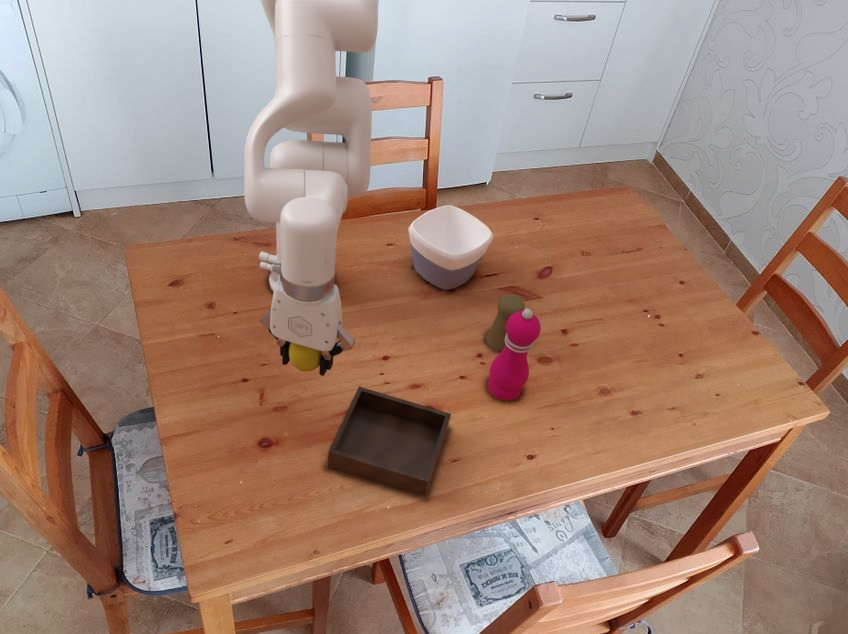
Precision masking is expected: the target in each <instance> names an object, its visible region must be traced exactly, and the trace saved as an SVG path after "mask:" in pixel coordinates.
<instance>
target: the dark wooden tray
mask: <svg viewBox="0 0 848 634" xmlns="http://www.w3.org/2000/svg"><path fill="white" fill-rule="evenodd" d="M451 417H452V414H451V413H449V412H446V411H443V410H440V409H436V408H433V407H430V406H427V405H423V404H420V403H416V402H414V401H413V402H412V401H410V400H405V399H403V398H400V397H396V396H392V395H389V394H385V393H382V392H379V391H376V390H372V389H369V388H366V387H362V386H358V387H357V389H356V392H355V394H354V396H353V398H352V400H351V402H350V404H349V406H348V408H347V411H346V412H345V415H344V417H343V419H342V421H341V424H340V425H339V428H338V430H337V432H336V434H335V436H334V438H333V441H332V443H331V445H330V447H329V449H328V453H327V454H328V455H327V468H330V469H333V470H335V471H339V472H343V473H346V474H349V475H353V476H356V477H359V478H362V479H365V480H369V481H371V482H375V483H377V484H382V485H385V486H388V487H391V488H394V489H395V488H396V489H398V490H402V491H405V492H408V493H412V494H415V495H418V496H421V497H426V496H427V493H428V489H429V488H430V484H431V481H432V478H433V474H434V471H435V468H436V465H437V462H438V459H439V456H440V452H441V450H442V447H443V444H444V441H445V437H446V435H447V432H448V428H449V424H450V421H451Z"/></svg>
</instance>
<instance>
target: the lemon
mask: <svg viewBox="0 0 848 634" xmlns="http://www.w3.org/2000/svg"><path fill="white" fill-rule="evenodd" d="M321 356H322V352H321V351H320V350H316V349H313V348H309V347H306V346H302V345H299V344H295V343H292V342H290V346H289V358H290V361H289V362H290V363H291V364H292V366H293V367H294V368H295V369H296V370H298V371H301V372H312V371H314V370H316V369H318V368H320V358H321Z"/></svg>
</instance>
